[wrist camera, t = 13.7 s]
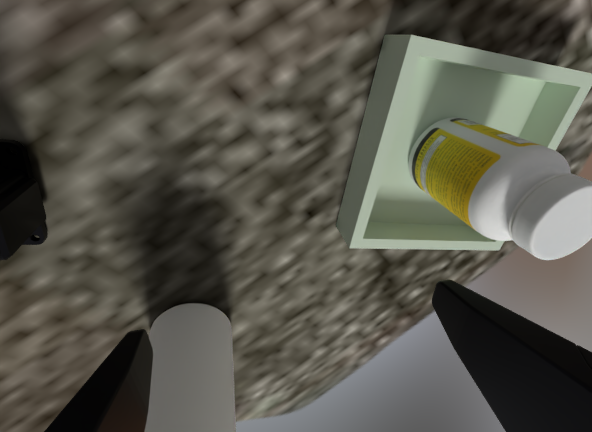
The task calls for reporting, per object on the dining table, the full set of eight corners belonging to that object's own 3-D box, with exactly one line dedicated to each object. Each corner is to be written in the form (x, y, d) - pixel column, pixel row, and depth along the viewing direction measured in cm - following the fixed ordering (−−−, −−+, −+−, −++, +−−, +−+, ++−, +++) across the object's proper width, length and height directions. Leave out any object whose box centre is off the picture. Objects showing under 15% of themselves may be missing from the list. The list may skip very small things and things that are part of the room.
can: (205, 287, 25) (196, 464, 15) (244, 333, 28) (259, 501, 18) (133, 322, 25) (74, 520, 15) (180, 363, 28) (159, 547, 18)
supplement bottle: (412, 200, 24) (515, 288, 16) (399, 136, 21) (516, 202, 13) (478, 170, 24) (617, 243, 16) (473, 102, 21) (640, 146, 13)
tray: (335, 225, 24) (349, 248, 22) (384, 34, 18) (411, 34, 16) (473, 230, 28) (499, 250, 25) (553, 70, 22) (597, 75, 19)
